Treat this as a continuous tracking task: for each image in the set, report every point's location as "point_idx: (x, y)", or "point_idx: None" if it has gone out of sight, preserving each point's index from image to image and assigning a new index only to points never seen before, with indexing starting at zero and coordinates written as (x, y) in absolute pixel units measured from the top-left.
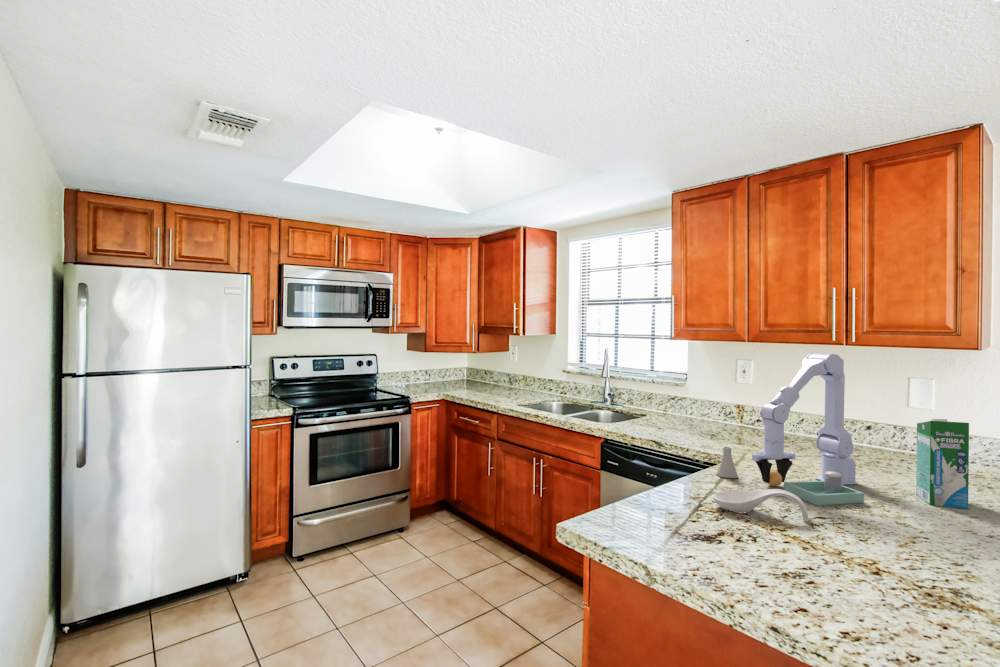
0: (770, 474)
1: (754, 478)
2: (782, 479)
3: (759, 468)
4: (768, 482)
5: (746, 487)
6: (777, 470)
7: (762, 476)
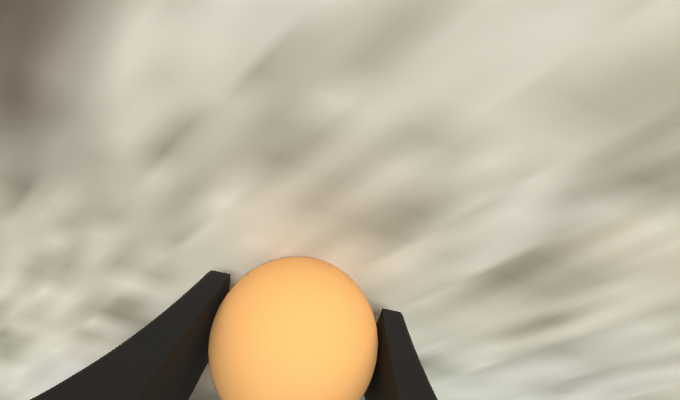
0: (218, 391)
1: (353, 15)
2: None
3: (84, 373)
4: None
5: (41, 220)
6: (398, 397)
7: (178, 306)
